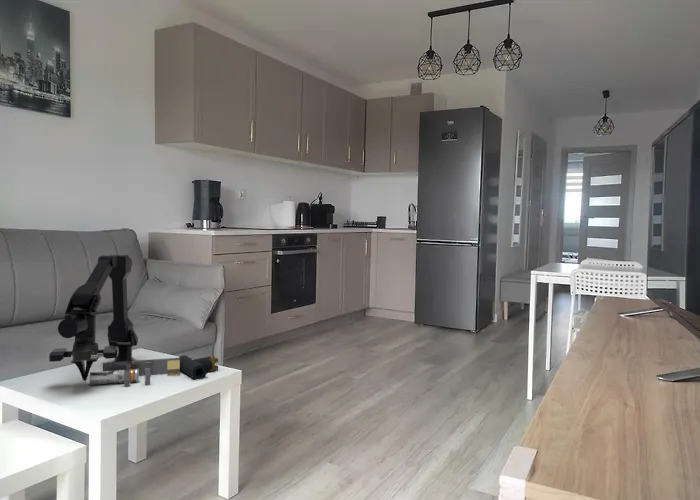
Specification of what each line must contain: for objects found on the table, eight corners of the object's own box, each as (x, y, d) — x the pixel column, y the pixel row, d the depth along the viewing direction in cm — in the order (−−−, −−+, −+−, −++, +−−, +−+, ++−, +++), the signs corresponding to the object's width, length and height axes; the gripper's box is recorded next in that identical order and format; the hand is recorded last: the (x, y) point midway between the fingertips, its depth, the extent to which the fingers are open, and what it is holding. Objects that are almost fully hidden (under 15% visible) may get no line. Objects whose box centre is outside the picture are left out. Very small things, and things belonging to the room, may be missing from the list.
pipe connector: (207, 351, 185) (224, 360, 174) (207, 365, 186) (225, 375, 174) (175, 356, 178) (192, 365, 166) (175, 371, 178) (192, 381, 167)
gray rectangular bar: (102, 377, 167) (102, 362, 167) (179, 371, 175) (179, 357, 175) (101, 381, 163) (101, 366, 163) (179, 375, 171) (180, 360, 171)
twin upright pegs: (126, 377, 167) (126, 362, 167) (150, 376, 170) (150, 361, 170) (124, 386, 158) (124, 370, 158) (150, 384, 161) (150, 369, 161)
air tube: (89, 386, 157) (89, 373, 157) (91, 383, 161) (91, 370, 161) (138, 382, 162) (138, 370, 162) (138, 379, 166) (138, 367, 166)
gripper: (45, 338, 147) (44, 391, 148) (115, 335, 154) (115, 386, 154) (53, 330, 158) (53, 379, 158) (118, 328, 164) (118, 375, 165)
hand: (84, 380), depth 159 cm, fingers closed
